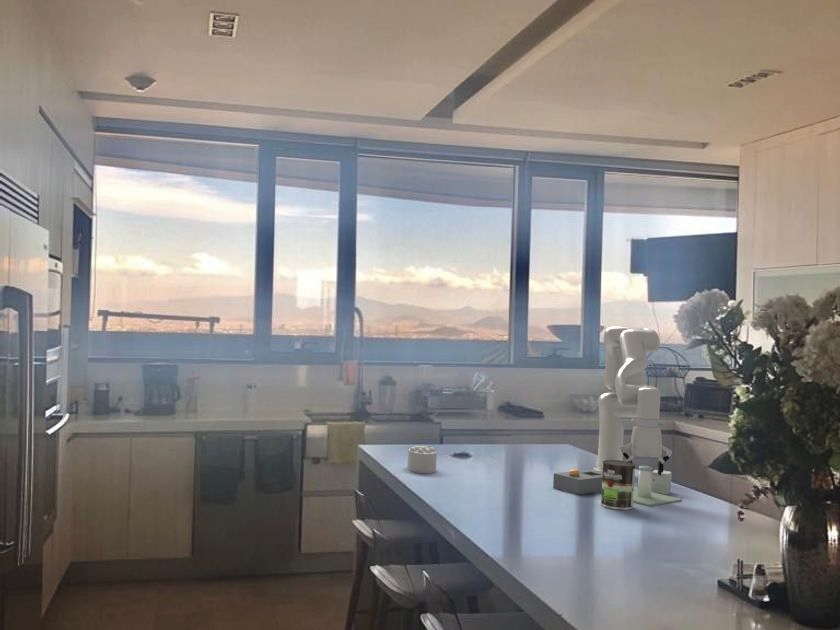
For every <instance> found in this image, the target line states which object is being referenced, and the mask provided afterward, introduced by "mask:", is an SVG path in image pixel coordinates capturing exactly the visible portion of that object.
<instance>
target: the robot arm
mask: <svg viewBox="0 0 840 630" xmlns="http://www.w3.org/2000/svg"><path fill="white" fill-rule="evenodd" d="M660 340H661V339H660V337H659V334H658V332H657V331H656V330H655V329H651V328H648V327H638V326H637V327H636V326H623V325H622V326H619V325H618V326H617V325H615V326H613V325H612V326H608V327H607V328H606V329H605V330H604V333H603V343H604V348H605V352H606V357H605V358H606V359H605V370H604V385H605V387H606V388H607V389H608V390H612V391H615V392H611V391H610V392H604V393H602V394H600V395H599V397H598V400H597V401H598V402H597V403H598V404H597V405H598V414H599V415H598V417H599V425H598V426H599V430H598V448H597V449H598V450H597V453H598V454H597V466H593V470H592V471H596V472H600V473H603V461H605V460H619V461H624V460H623V457H624V458H625V459H626V462H631V463H634V462H633V459H634V458H636V457H641V458H642V457H643V458H654V459H655V458H656V459H657V460H658V462H657V470H658V474H659V475H661V473H663V471H664V464H665V463H666V462H667V461H668V460H670V458H671V456H672V454H673V450H672V449H669V448H668V447H666V446H665V445H663V441H662V438H663V437H662V431H661V427H660V426H663V425H664V420H661V419H660V410H661V409H660V406H661V390H660V389H659V388H657V387H655V386H654V385H649V384H646V383H647V381H646V379H647V378H646V372H645V371H644V370H646V368H647V367H648V364H649V360H648V356H647V353H657V352H658V351H659V348H660V344H661V341H660ZM619 418H635V425H633V426H632V427H633V428H632V431H631V436H630V437H631V438H630V442H629V443H627V444H625V445H624V436H625V435H624V426H623V424H622V423H621V421H620V420H619ZM628 449H629V452H630V454H629V455H628V453H627V451H626V450H628ZM663 451H664V452H666V454H665V455H664V456H663V457H662V454H663Z"/></svg>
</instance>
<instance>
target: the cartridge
mask: <svg viewBox="0 0 840 630" xmlns="http://www.w3.org/2000/svg"><path fill="white" fill-rule="evenodd" d="M652 472H653V467H652V466H649V465H639V466H638V478H637V479H638V480H637V489H638V496H639V497H643V498H650V497H651V485H652Z"/></svg>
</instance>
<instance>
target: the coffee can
mask: <svg viewBox="0 0 840 630" xmlns="http://www.w3.org/2000/svg"><path fill="white" fill-rule="evenodd" d="M626 461H627V460H626ZM626 461H625V460H623V461H619V460H605V461H603V477H602V491H601V496H600V506H601V507H604V508H606V509H611V510H612V509H613V510H620V511H629V509H630V510H632V509H634V507H633V505H634V502H633V493H634V489H635V474H636V472H635V471H636V464H635V463H634V462H633V463H631V462H626Z"/></svg>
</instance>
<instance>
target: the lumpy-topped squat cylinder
mask: <svg viewBox="0 0 840 630" xmlns="http://www.w3.org/2000/svg"><path fill="white" fill-rule="evenodd" d="M437 453H438V452H437V451H436V448H435V447H433V446H431V447H429V446H428V445H415V446H411V448H408V451H407V469H408V470H409V471H410V472H414V473H420V474H433V473H435V472H436V471H437V455H438V454H437Z"/></svg>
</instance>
